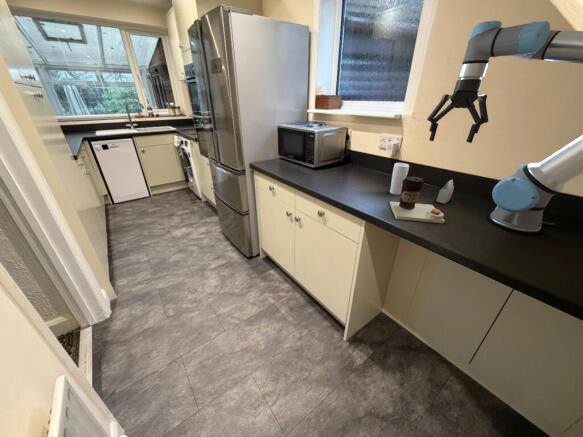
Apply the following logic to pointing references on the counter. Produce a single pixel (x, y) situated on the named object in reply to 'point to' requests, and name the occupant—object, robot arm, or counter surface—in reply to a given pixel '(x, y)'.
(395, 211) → the scale
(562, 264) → the counter surface
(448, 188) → the grey tapered block
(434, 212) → the button
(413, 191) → the coffee cup
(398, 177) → the drinking glass
